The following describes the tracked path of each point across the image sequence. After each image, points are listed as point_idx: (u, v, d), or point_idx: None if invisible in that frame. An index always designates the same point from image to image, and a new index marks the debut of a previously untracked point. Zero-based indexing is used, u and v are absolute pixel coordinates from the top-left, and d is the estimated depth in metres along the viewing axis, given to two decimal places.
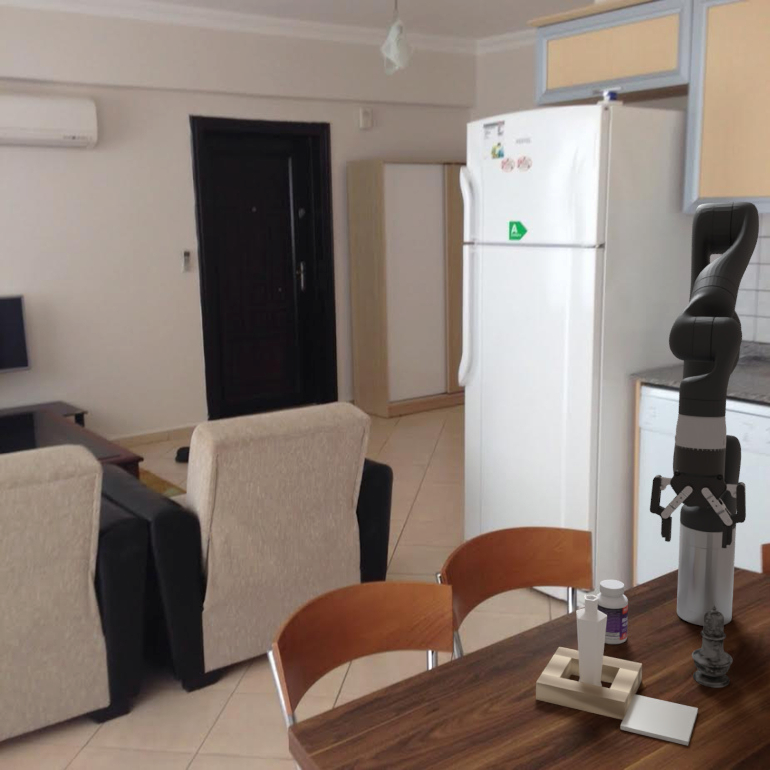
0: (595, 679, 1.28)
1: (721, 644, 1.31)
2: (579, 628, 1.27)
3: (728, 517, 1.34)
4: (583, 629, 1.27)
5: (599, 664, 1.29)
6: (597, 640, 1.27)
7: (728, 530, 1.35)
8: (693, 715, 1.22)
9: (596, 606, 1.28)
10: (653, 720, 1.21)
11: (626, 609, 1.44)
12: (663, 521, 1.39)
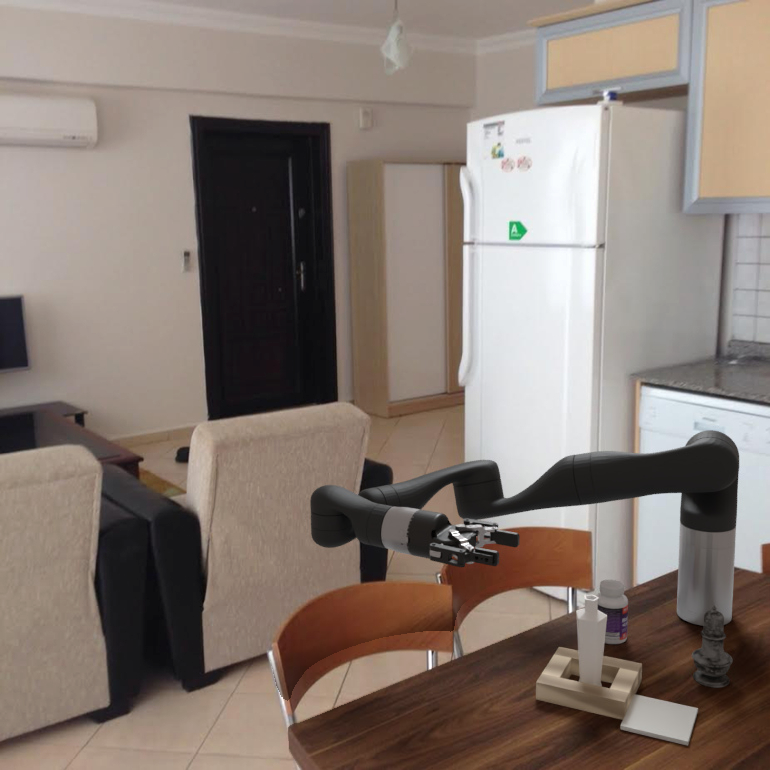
0: (595, 679, 1.28)
1: (721, 644, 1.31)
2: (579, 628, 1.27)
3: (490, 527, 1.39)
4: (583, 629, 1.27)
5: (599, 664, 1.29)
6: (597, 640, 1.27)
7: None
8: (693, 715, 1.22)
9: (596, 606, 1.28)
10: (653, 720, 1.21)
11: (626, 609, 1.44)
12: (476, 552, 1.30)
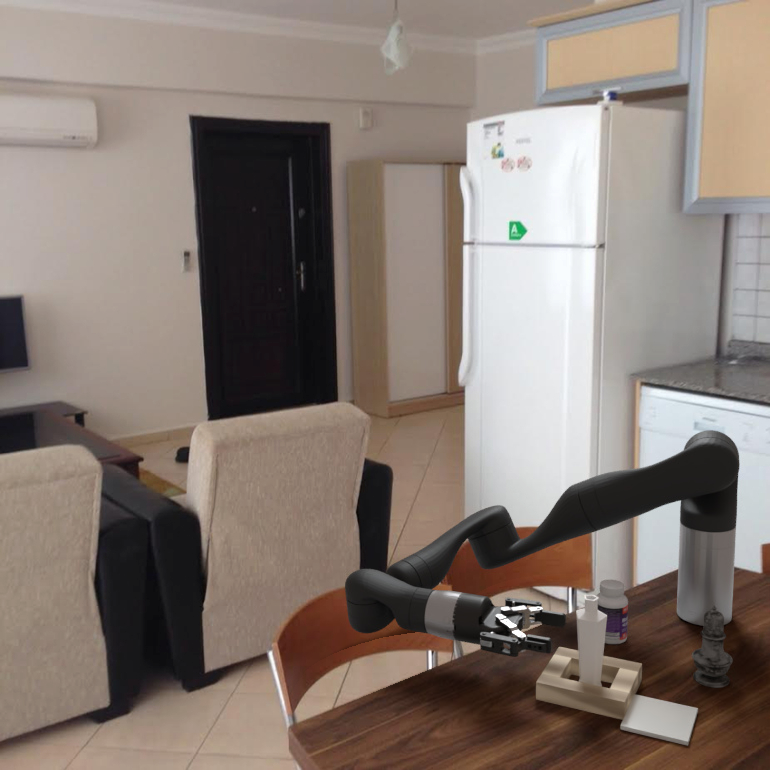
0: (595, 679, 1.28)
1: (721, 644, 1.31)
2: (579, 628, 1.27)
3: (534, 607, 1.37)
4: (583, 629, 1.27)
5: (599, 664, 1.29)
6: (597, 640, 1.27)
7: None
8: (693, 715, 1.22)
9: (596, 606, 1.28)
10: (653, 720, 1.21)
11: (626, 609, 1.44)
12: (529, 640, 1.28)
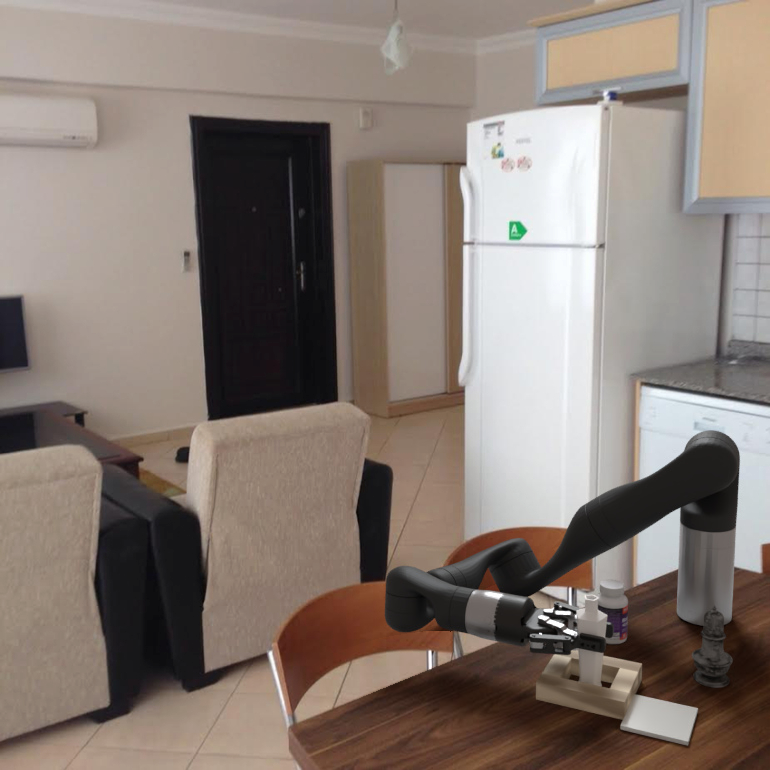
0: (595, 679, 1.28)
1: (721, 644, 1.31)
2: (579, 628, 1.27)
3: None
4: (583, 629, 1.27)
5: (599, 664, 1.29)
6: None
7: None
8: (693, 715, 1.22)
9: (596, 606, 1.28)
10: (653, 720, 1.21)
11: (626, 609, 1.44)
12: (582, 638, 1.26)
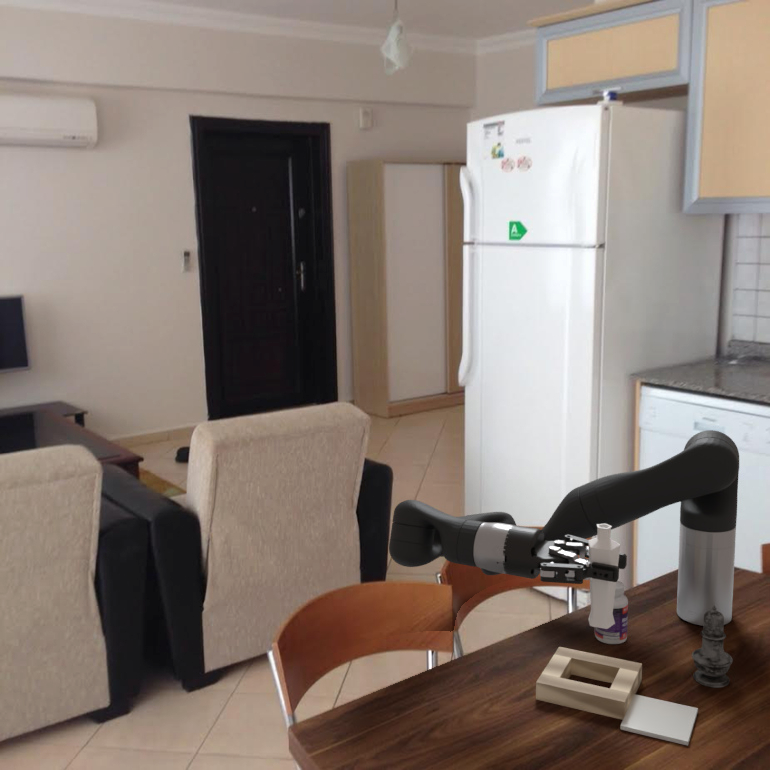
0: (607, 610, 1.25)
1: (721, 644, 1.31)
2: (591, 557, 1.24)
3: None
4: (595, 558, 1.23)
5: (611, 595, 1.25)
6: None
7: None
8: (693, 715, 1.22)
9: (609, 535, 1.24)
10: (653, 720, 1.21)
11: (626, 609, 1.44)
12: (594, 567, 1.23)
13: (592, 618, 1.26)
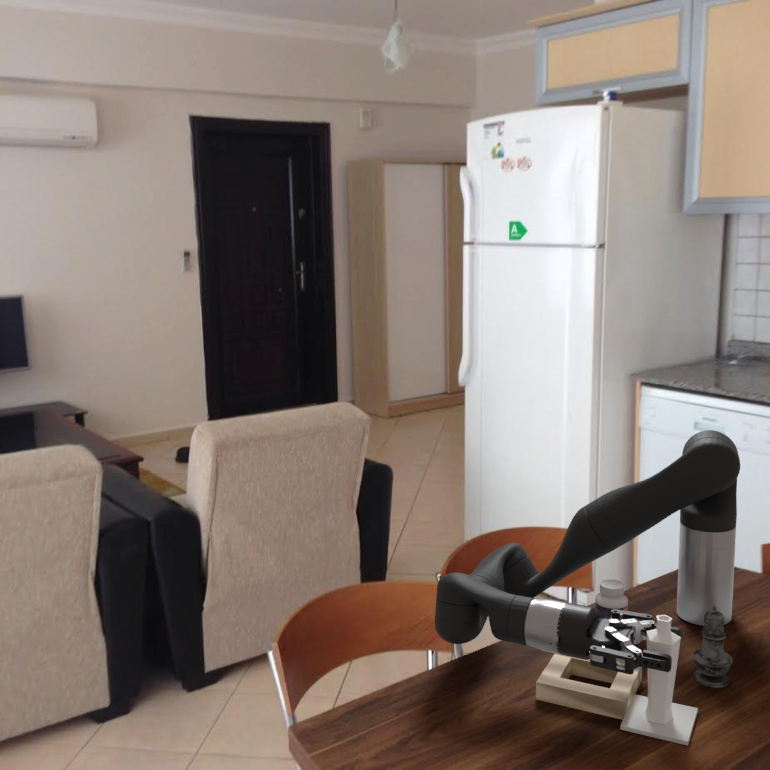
0: (666, 706, 1.20)
1: (721, 644, 1.31)
2: None
3: (645, 621, 1.25)
4: None
5: (671, 689, 1.20)
6: None
7: None
8: (693, 715, 1.22)
9: (669, 627, 1.19)
10: None
11: (626, 609, 1.44)
12: (645, 656, 1.16)
13: (650, 712, 1.21)
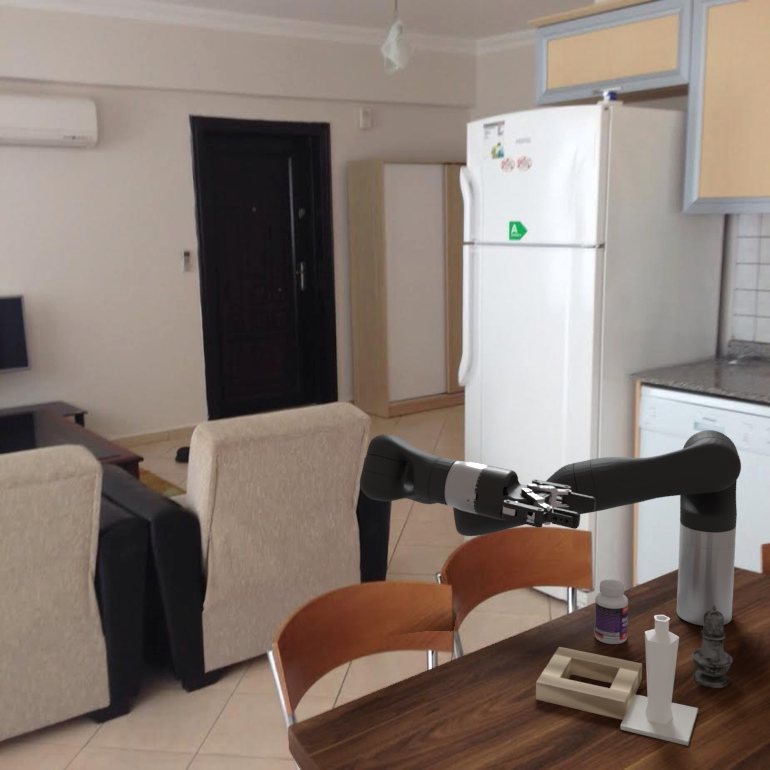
0: (666, 706, 1.20)
1: (721, 644, 1.31)
2: (649, 651, 1.19)
3: (563, 489, 1.29)
4: (653, 652, 1.19)
5: (670, 689, 1.20)
6: (669, 664, 1.18)
7: None
8: (693, 715, 1.22)
9: (667, 627, 1.19)
10: None
11: (626, 609, 1.44)
12: (555, 512, 1.19)
13: (650, 713, 1.21)
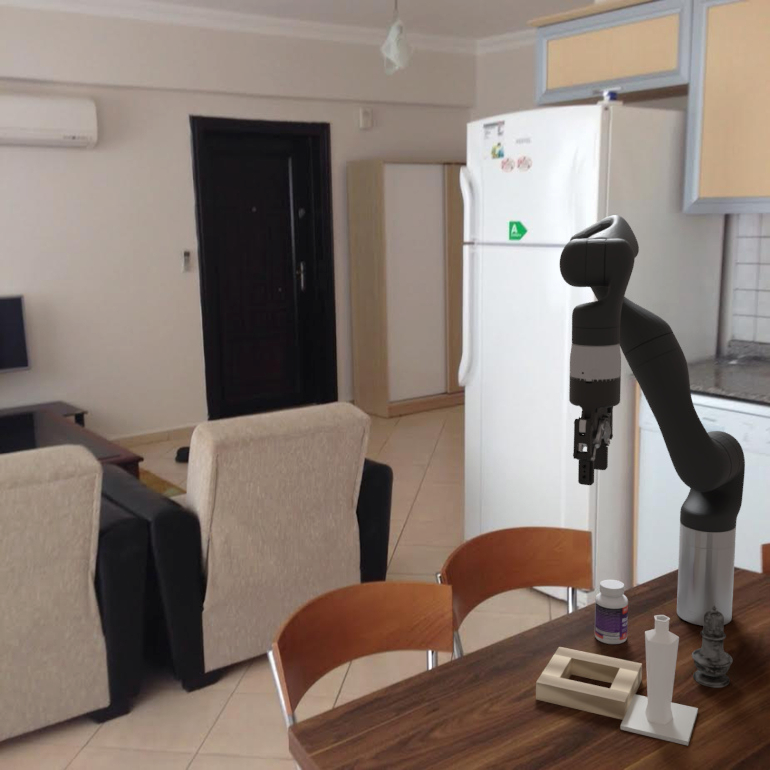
0: (666, 706, 1.20)
1: (721, 644, 1.31)
2: (649, 651, 1.19)
3: (608, 438, 1.35)
4: (653, 652, 1.19)
5: (670, 689, 1.20)
6: (669, 664, 1.18)
7: None
8: (693, 715, 1.22)
9: (667, 627, 1.19)
10: None
11: (626, 609, 1.44)
12: (589, 465, 1.28)
13: (650, 713, 1.21)
